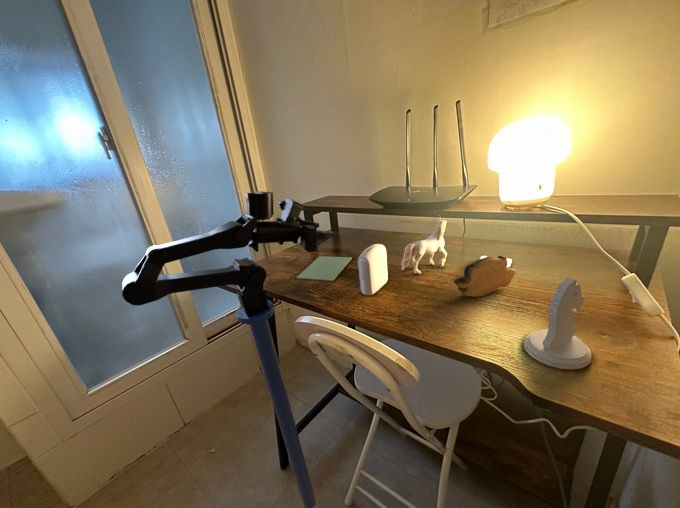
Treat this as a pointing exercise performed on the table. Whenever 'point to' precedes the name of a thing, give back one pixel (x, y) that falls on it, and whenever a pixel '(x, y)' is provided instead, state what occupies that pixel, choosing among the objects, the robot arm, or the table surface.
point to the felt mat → (324, 268)
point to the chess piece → (561, 332)
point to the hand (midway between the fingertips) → (325, 229)
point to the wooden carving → (485, 276)
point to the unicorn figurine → (426, 248)
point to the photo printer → (372, 269)
